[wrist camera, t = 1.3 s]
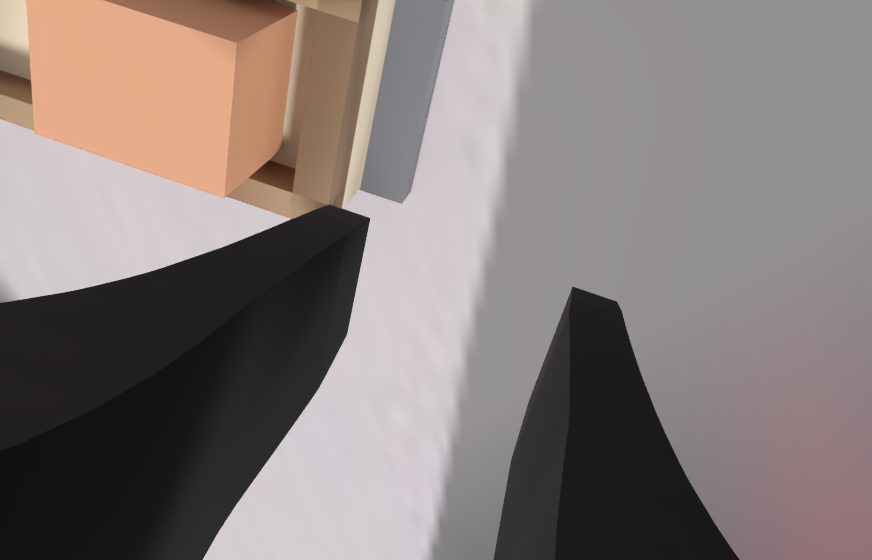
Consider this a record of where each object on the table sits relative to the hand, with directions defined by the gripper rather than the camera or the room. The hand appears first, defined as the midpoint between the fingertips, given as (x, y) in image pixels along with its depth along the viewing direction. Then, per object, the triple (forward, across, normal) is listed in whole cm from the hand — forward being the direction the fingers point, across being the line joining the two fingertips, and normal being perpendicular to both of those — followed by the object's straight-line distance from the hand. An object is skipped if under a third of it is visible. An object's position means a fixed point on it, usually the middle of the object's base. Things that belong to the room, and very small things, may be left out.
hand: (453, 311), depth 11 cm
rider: (+6, +7, 0) cm, 9 cm away
